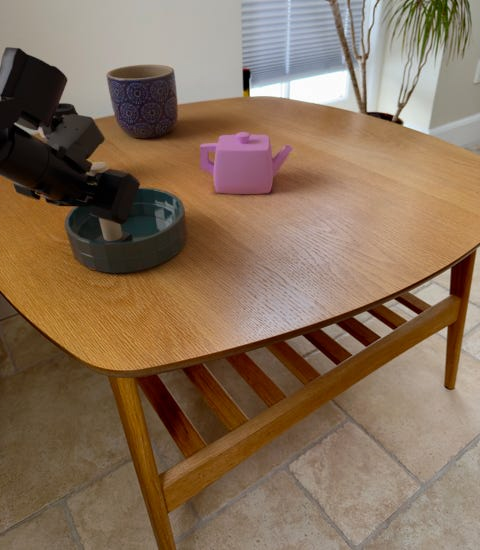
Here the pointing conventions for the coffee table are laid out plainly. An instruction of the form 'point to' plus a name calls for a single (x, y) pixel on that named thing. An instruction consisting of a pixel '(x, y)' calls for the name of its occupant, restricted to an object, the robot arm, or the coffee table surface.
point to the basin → (141, 224)
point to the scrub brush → (108, 228)
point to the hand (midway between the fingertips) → (113, 206)
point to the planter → (144, 99)
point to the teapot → (242, 163)
